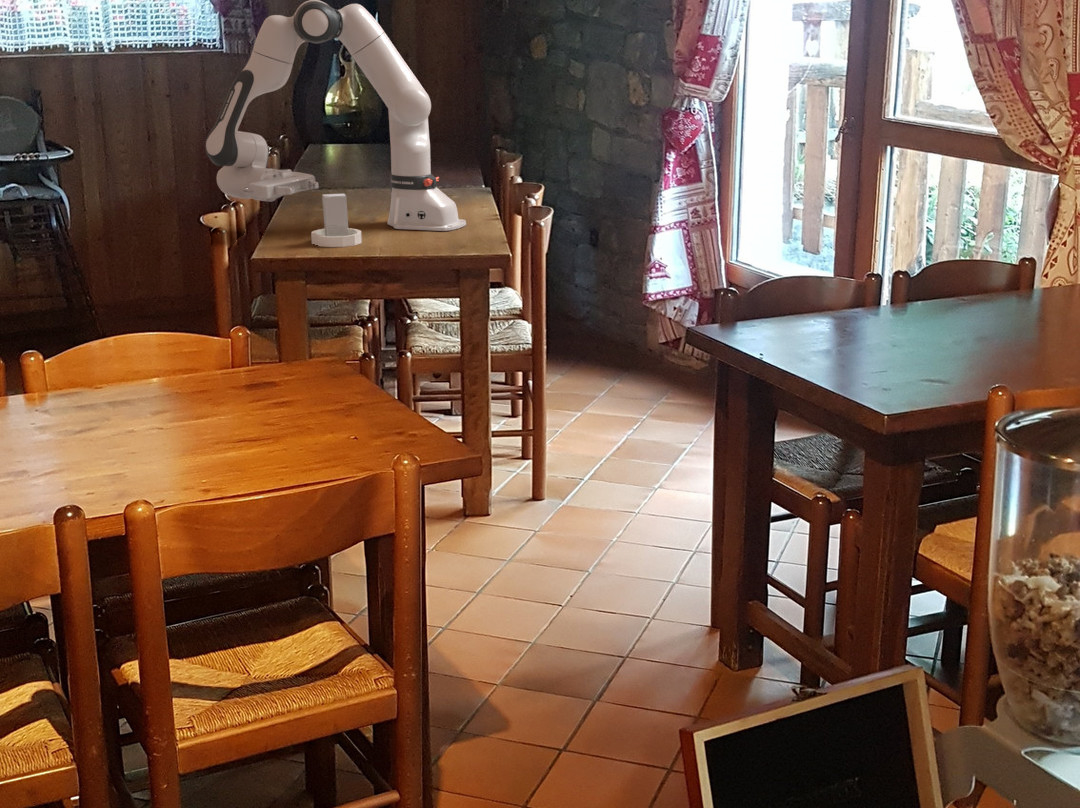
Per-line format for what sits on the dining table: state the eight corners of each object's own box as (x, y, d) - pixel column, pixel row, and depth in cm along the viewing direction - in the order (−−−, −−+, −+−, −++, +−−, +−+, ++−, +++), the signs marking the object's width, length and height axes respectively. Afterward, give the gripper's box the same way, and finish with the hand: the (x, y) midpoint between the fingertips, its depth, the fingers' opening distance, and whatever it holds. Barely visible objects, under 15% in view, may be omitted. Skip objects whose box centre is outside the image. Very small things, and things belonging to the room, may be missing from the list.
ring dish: (370, 239, 331) (370, 230, 330) (345, 248, 319) (345, 238, 318) (328, 235, 335) (328, 226, 334) (302, 244, 324) (301, 234, 323)
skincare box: (347, 238, 329) (345, 192, 325) (349, 241, 325) (347, 195, 321) (323, 239, 328) (321, 193, 324) (325, 242, 323) (323, 196, 320)
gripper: (237, 178, 326) (276, 182, 319) (291, 168, 342) (329, 171, 335) (240, 202, 328) (278, 206, 321) (293, 190, 345) (330, 194, 338)
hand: (304, 188), depth 328 cm, fingers open, 8 cm apart
